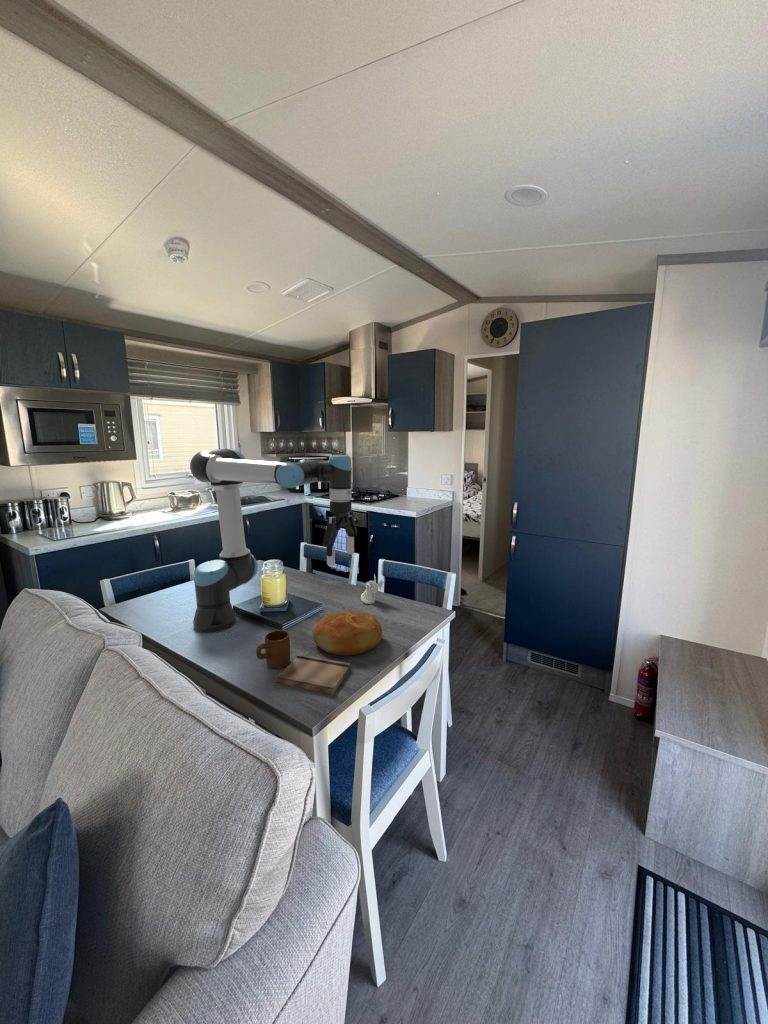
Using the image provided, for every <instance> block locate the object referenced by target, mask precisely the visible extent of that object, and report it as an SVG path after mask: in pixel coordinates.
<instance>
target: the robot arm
mask: <svg viewBox="0 0 768 1024" xmlns="http://www.w3.org/2000/svg"><path fill="white" fill-rule="evenodd" d="M328 457H329V458H328V460H321V459H312V458H311V459H300V460H299V462H288V461H287V462H285V461H283V462H282V461H268V460H253V459H246V458H245V456H244V454H242V453H241V452H240V451H239V450H237V449H235V448H218V449H208V450H201V451H199V452H197V453H196V454H194V455H193V456H192V458H191V460H190V463H189V469H190V473H191V474H192V476H193V477H194V478H195V479H196V480H198V481H200V482H202V483H210V486H211V487H212V488H213V489H214V490H215V495H216V502H217V512H218V519H219V527H220V528H219V529H220V537H221V543H222V550H221V552H220V553H219V559H213V560H212V559H211V560H210V561H209V560H208V561H205V562H203V563H200V564H199V565H197V566H196V567H195V568H194V574H193V575H194V577H193V582H194V590H195V599H196V600H195V601H196V609H195V612H194V616H193V617H194V618H193V621H192V624H193V625H192V626H193V630H195V632H197V633H202V634H203V633H205V634H211V633H212V634H213V633H219V632H223V631H226V630H228V629H230V628H232V627H234V626H235V624H236V622H237V614H236V612H235V611H234V608H233V605H232V603H231V596H230V592H231V591H233V590H234V589H235V590H236V588H238V587H240V586H242V585H245V584H247V583H249V582H250V581H251V580H253V579H254V578H255V577H256V575H257V573H258V566H259V565H258V561H257V559H256V558H255V557H254V556H255V555H253V554H252V553H251V550H250V549H249V548H247V546H246V537H245V530H244V529H245V527H244V520H243V510H242V501H241V493H240V488H241V486H242V485H243V484H244V483H252V484H253V483H254V484H263V485H264V484H265V485H275V486H282V487H283V488H286V489H290V488H297V487H299V486H303V485H308V484H313V483H317V482H318V483H328V484H329V500H330V501H329V511H330V512H331V513H332V516H327V521H326V523H327V524H326V526H325V532H324V536H323V540H322V544H321V545H322V546H323V547H326V565H330V566H336V559H335V558H336V551H335V549H336V548H335V546H334V544H335V543H336V539H337V536H338V534H339V531H340V530H341V529H342V528H343V529H344V531H345V532H346V534H347V536H346V539H345V540H346V554H347V555H348V554H349V555H354V554H355V537H357V536H358V529H357V525H356V522H355V521H356V520H355V518H354V511H353V510H352V501H351V499H352V494H353V492H352V470H353V468H352V458H351V457H350V456H349V455H346V454H333V455H330V456H328Z"/></svg>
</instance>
